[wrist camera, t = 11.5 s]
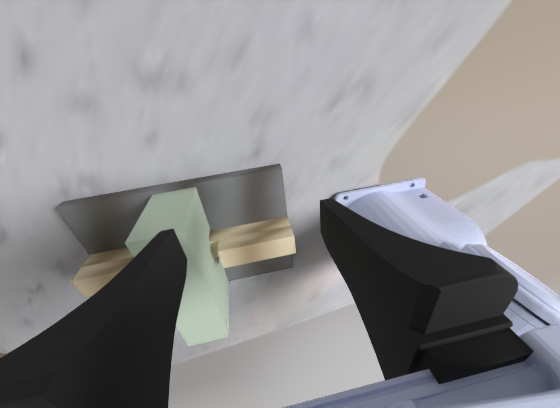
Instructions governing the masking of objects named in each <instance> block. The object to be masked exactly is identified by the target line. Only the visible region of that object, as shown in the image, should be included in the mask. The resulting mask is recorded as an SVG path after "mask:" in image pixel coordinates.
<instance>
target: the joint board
mask: <svg viewBox="0 0 560 408" xmlns="http://www.w3.org/2000/svg"><path fill="white" fill-rule="evenodd" d="M193 187H196V189H197V192H198V195H199V198H200V200H201V203H202V206H203V209H204V212H205V215H206V218H207V221H208V224H209V226H210V232H209V240H210V243H211V246H212V249H213V252H214V254H215V257H216V258H218V257H220V260H221V263H222V266H223V268H224V270H225V273H226V276H227V279H228V281H231V280H236V279H241V278H245V277H250V276H255V275H259V274H264V273H269V272H273V271H278V270H283V269H287V268H292V267H293V260H292V254H294V253H296V247H295V238H294V234H293V231H292V228H291V225H290V222H289V220H288V217H287V209H286V201H285V192H284V184H283V175H282V168H281V166H280V164H276V165H270V166H264V167H259V168H253V169H247V170H242V171H236V172H230V173H224V174H219V175H213V176H207V177H202V178H196V179H190V180H184V181H179V182H173V183H167V184H162V185H156V186H150V187H145V188H139V189H133V190H127V191H122V192H116V193H110V194H105V195H99V196H93V197H87V198H82V199H76V200H70V201H65V202H62V203H61V204H60V205H59V206H57V207H56V208H55V209H56V210H57V211H58V213H59V214H60V215H61V217H62V218H63V220H64V221H65V222H66V224H67V225H68V226H69V228H70V229H71V230H72V232H73V233H74V234H75V236H76V237H77V238H78V240H79V241H80V242H81V244H82V245H83V246H84V248H85V249H86V250H87V252H88V253H89V254H90V255H89V257H88V258H87V259H86V261H85V262H84V264H83V265H82V266H81V268H80V269H79V271H78V272H77V273H76V275H75V276H74V278H73V279H72V280H71V282H72V283H73V284H74V286H75V287H76V288H77V289H78V290H79V291H80V292H81V294H82V295H83V296H84V297H89V296H93V295H94V294H95V293H96V292H98V291H99V290H100V289H101V288H102V287H103V286H105V285H106V284H107V283H108V282H109V281H110V280H111V279H113V278H114V277H115V276H116V275H117V274H118V273H119V272H120V271H121V270H122V269H123V268H124V267H125V266H126V265H127V264H128V263H129V262H130V261H131V260H132V259H133V258H134V257H133V256H132V254H131V252H130V251H129V249H128V248H127V246H126V244H125V242H126V240H127V238H128V237H129V235H130V233H131V231H132V230H133V228H134V226H135V224H136V223H137V221H138V219H139V217H140V216H141V214H142V212H143V210H144V209H145V207H146V205H147V203H148V202H149V200H150V198H151V196H152V195H154V194H160V193H165V192H171V191H176V190H182V189H188V188H193Z"/></svg>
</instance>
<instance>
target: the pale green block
mask: <svg viewBox="0 0 560 408" xmlns="http://www.w3.org/2000/svg"><path fill="white" fill-rule="evenodd" d="M173 228H174V231H175V233H176V235H177V237H178V239H179V242H180V244H181V246H182V248H183V251H184V253H185V255H186V257H187V273H186V281H185V286H184V290H183V295H182V299H181V304H180V308H179V313H178V317H177V322H176V327H177V329H178V330H179V332H180V334H181V335H182V337H183V338H184V340H185V342H186V343H187V345H188V346H192V345H197V344H201V343H205V342H209V341H214V340H218V339H222V338H226V337H229V282H228V279H227V276H226V273H225V270H224V268H223V266H222V263H221V260H220V257H218V258H216V257H215V254H214V252H213V249H212V246H211V243H210V240H209V232H210V226H209V224H208V221H207V218H206V215H205V212H204V209H203V206H202V203H201V200H200V198H199V195H198V192H197V189H196V187H193V188H188V189H182V190H176V191H171V192H165V193H160V194H154V195H152V196H151V198H150V200H149V202H148V203H147V205H146V207H145V209H144V210H143V212H142V214H141V216H140V217H139V219H138V221H137V223H136V224H135V226H134V228H133V230H132V231H131V233H130V235H129V237H128V238H127V240H126V242H125V244H126V246H127V248H128V249H129V251H130V252H131V254H132V256H133V257H135V256H136V255H137V254H138V253H139V252H140V251H141V250H142V249H143V248H144V247H145V246H146V245H147V244H148V243H149V242H150V241H151V240H152V239H153V238H154V237H155V236H156V235H157V234H158V233H159V232H160V231H163V230H168V229H173Z"/></svg>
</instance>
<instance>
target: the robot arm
mask: <svg viewBox="0 0 560 408" xmlns="http://www.w3.org/2000/svg"><path fill="white" fill-rule="evenodd" d="M410 184H412V185H410ZM425 184H426V180H425V179H423V178H416V179H411V180H405V181H400V182H395V183H390V184H385V185H379V186H374V187H369V188H363V189H358V190H353V191H348V192H342V193H338V194H337V195H336V196H335V200H334V199H332V198H330V199H325V200H320V223H321V234H322V237H323V240H324V242H325V245H326V247H327V249H328V251H329V253H330V255H331V257H332V259H333V260H334V262H335V264H336V266H337V268H338V269H339V271H340V273H341V275H342V277H343V278H344V280H345V282H346V284H347V286H348V288H349V290H350V292H351V294H352V296H353V298H354V301H355V303H356V305H357V308H358V310H359V313H360V315H361V318H362V320H363V322H364V325H365V327H366V330H367V332H368V335H369V338H370V340H371V343H372V345H373V348H374V351H375V353H376V356H377V359H378V362H379V364H380V367H381V370H382V372H383V375H384V378H385V381H381V382H377V383H374V384H370V385H366V386H362V387H359V388H355V389H351V390H348V391H344V392H340V393H336V394H333V395H328V396H325V397H321V398H317V399H313V400H310V401H306V402H302V403H298V404H295V405H291V406H287V407H284V408H560V296H559V295H558V294H556V293H555V292H554V291H552V290H551V289H550V288H548V287H547V286H546V285H544V284H543V283H541V282H540V281H539V280H537V279H536V278H534V277H533V276H532V275H530V274H529V273H527V272H525V271H524V270H523V269H521V268H520V267H519V266H517V265H516V264H514V263H513V262H511V261H510V260H508V259H507V258H505V257H504V256H502V255H501V254H499V253H497V252H496V251H494V250H493V249H491V248H489V247H488V246H487V243H486V240H485V238H484V236H483V234H482V232H481V231H480V229H479V228H478V226H477V225H476V224H475V223H474V222H473V221H472V220H471V219H470V218H468V217H467V216H466V215H464V214H463V213H461V212H460V211H458V210H457V209H455V208H454V207H452V206H451V205H449V204H448V203H446V202H445V201H443V200H442V199H440V198H439V197H437V196H436V195H435V194H433V193H432V192H430V191H429V190H427V189H425ZM345 196H347V197H346V198H344V197H345ZM186 273H187V257H186V255H185V253H184V251H183V248H182V246H181V244H180V242H179V239H178V237H177V235H176V233H175V231H174V228H173V229H168V230H163V231H160V232H159V233H158V234H157V235H156V236H155V237H154V238H153V239H152V240H151V241H150V242H149V243H148V244H147V245H146V246H145V247H144V248H143V249H142V250H141V251H140V252H139V253H138V254H137V255H136V256H135V257H134V258H133V259H132V260H131V261H130V262H129V263H128V264H127V265H126V266H125V267H124V268H123V269H122V270H121V271H120V272H119V273H118V274H117V275H116V276H115V277H114V278H113V279H111V280H110V281H109V282H108V283H107V284H106V285H105V286H103V287H102V288H101V289H100V290H99V291H98V292H96V293H95V294H94V295H93V296H91V297H90V298H89V299H88V300H86V301H85V302H84V303H83V304H81V305H80V306H78V307H77V308H76V309H74V310H73V311H72V312H70V313H69V314H67V315H66V316H65V317H63V318H62V319H61V320H59V321H58V322H56V323H55V324H54V325H52V326H51V327H49V328H48V329H46V330H45V331H43V332H42V333H40V334H39V335H37V336H35V337H34V338H32V339H31V340H29V341H28V342H26V343H24V344H23V345H21V346H20V347H18V348H16V349H15V350H13V351H11V352H10V353H8V354H6V355H5V356H3V357H1V358H0V408H168V398H169V381H170V370H171V359H172V350H173V341H174V332H175V327H176V322H177V317H178V313H179V308H180V304H181V299H182V295H183V290H184V286H185V281H186Z"/></svg>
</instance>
